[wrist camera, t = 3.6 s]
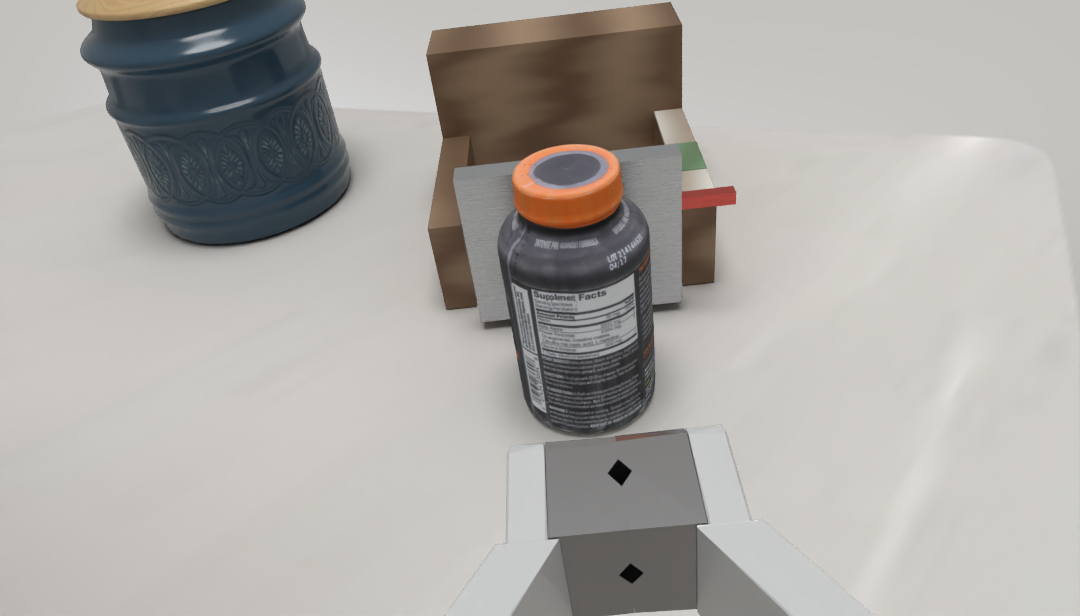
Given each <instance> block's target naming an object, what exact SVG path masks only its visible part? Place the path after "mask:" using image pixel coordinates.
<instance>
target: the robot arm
mask: <svg viewBox="0 0 1080 616" xmlns="http://www.w3.org/2000/svg"><path fill="white" fill-rule="evenodd" d="M634 608H635V609H634ZM689 609H697V612H698V613H699V615H700V616H875V615H874V614H873V613H871V612H870V611H869V610H868V609H867V608H866V607H864V606H863V605H862V604H861V603H860V602H859V601H857V600H856V599H855V598H854V597H853V596H852V595H850V594H849V593H848V592H847V591H846V590H845V589H843V588H842V587H841V586H840V585H839V584H838V583H837V582H835V581H834V580H833V579H832V578H831V577H830V576H828V575H827V574H826V573H825V572H824V571H823V570H821V569H820V568H819V567H818V566H817V565H816V564H814V563H813V562H812V561H811V560H810V559H809V558H807V557H806V556H805V555H804V554H803V553H802V552H800V551H799V550H798V549H797V548H796V547H795V546H793V545H792V544H791V543H790V542H789V541H788V540H786V539H785V538H784V537H783V536H782V535H781V534H779V533H778V532H777V531H776V530H775V529H774V528H772V527H771V526H770V525H769V524H768V523H767V522H765V521H764V520H752V519H751V515H750V512H749V508H748V505H747V501H746V498H745V495H744V491H743V488H742V484H741V481H740V477H739V474H738V471H737V467H736V464H735V460H734V457H733V453H732V450H731V446H730V443H729V440H728V436H727V433H726V430H725V429H724V427H723V426H722V425H714V426H704V427H695V428H686V430H685V429H684V428H683V429H674V430H665V431H657V432H648V433H639V434H630V435H621V436H615V437H609V438H596V439H583V440H570V441H557V442H545V443H538V444H526V445H513V446H509V450H508V454H507V496H506V543H505V544H497V545H495V546H494V547H493V548H492V550H491V551H490V553H489V554H488V555H487V557H486V558H485V560H484V561H483V562H482V564H481V565H480V567H479V568H478V569H477V571H476V572H475V574H474V575H473V576H472V578H471V579H470V581H469V582H468V583H467V585H466V586H465V588H464V589H463V590H462V592H461V593H460V594H459V596H458V597H457V599H456V600H455V601H454V603H453V604H452V606H451V607H450V608H449V610H448V611H447V613H446V614H445V615H444V616H611V615H620V614H628V613H640V612H656V611H672V610H689Z"/></svg>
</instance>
